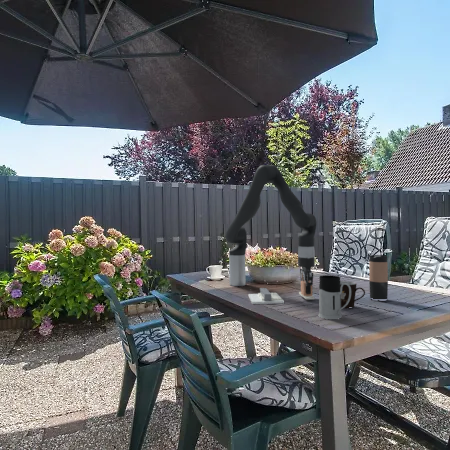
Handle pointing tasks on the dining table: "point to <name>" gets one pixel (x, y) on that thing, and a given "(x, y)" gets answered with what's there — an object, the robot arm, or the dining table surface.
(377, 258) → the travel mug
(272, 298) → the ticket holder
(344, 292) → the coffee mug
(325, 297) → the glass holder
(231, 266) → the robot arm
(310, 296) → the tan block on plate
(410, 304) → the dining table surface
